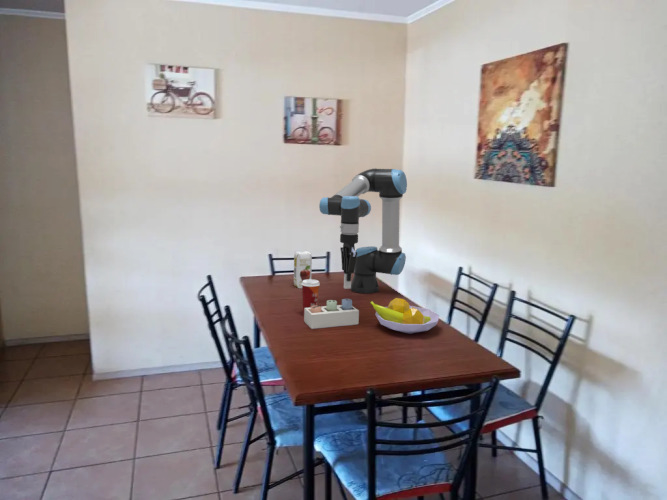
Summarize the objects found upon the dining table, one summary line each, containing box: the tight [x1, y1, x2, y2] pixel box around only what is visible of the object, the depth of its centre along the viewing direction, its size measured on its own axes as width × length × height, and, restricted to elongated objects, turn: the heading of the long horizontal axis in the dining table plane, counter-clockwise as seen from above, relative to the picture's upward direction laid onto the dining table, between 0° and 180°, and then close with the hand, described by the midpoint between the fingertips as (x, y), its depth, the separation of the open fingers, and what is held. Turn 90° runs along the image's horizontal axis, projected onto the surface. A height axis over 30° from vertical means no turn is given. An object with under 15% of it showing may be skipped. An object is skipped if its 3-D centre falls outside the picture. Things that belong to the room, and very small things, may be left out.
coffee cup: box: [301, 278, 321, 314], centre depth 229 cm, size 8×8×15 cm
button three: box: [311, 305, 322, 313], centre depth 215 cm, size 4×4×6 cm
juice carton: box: [293, 250, 313, 289], centre depth 275 cm, size 8×9×19 cm
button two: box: [325, 299, 338, 312], centre depth 217 cm, size 4×4×6 cm
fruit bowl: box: [369, 297, 440, 334], centre depth 214 cm, size 28×27×11 cm
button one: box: [341, 298, 353, 310], centre depth 220 cm, size 4×4×6 cm
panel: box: [303, 304, 360, 330], centre depth 218 cm, size 21×10×6 cm, turn 111°
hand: (347, 288), depth 218 cm, fingers closed
